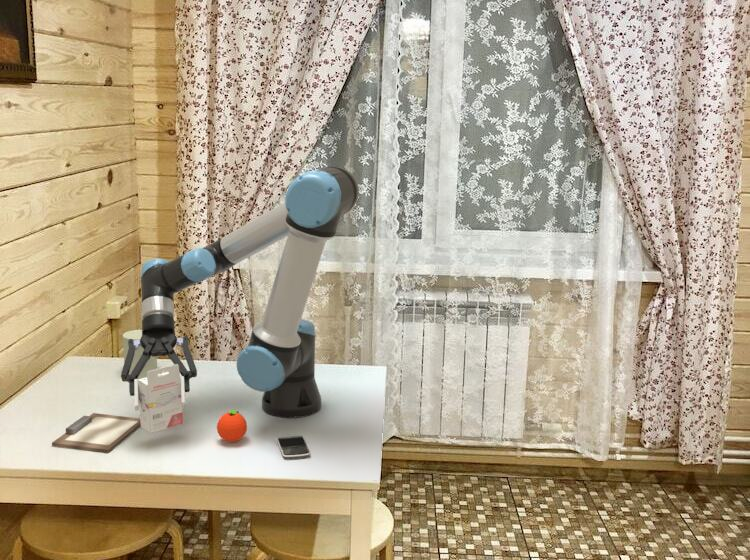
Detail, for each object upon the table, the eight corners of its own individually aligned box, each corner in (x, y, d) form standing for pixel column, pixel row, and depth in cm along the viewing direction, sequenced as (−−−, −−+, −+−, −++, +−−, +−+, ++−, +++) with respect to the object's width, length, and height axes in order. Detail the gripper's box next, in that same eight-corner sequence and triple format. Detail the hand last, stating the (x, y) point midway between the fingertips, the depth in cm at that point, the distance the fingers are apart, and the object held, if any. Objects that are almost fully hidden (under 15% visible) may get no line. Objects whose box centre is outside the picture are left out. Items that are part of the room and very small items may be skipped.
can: (149, 380, 238) (147, 338, 235) (118, 377, 240) (116, 336, 237) (163, 369, 247) (162, 329, 244) (133, 366, 249) (131, 326, 246)
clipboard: (145, 422, 210) (145, 413, 210) (108, 453, 193) (108, 443, 193) (93, 416, 213) (92, 407, 213) (52, 446, 196) (51, 437, 196)
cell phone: (283, 462, 192) (283, 456, 192) (276, 441, 202) (276, 436, 202) (311, 460, 194) (311, 454, 193) (302, 439, 204) (302, 434, 204)
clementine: (224, 431, 206) (224, 403, 205) (252, 434, 205) (252, 406, 203) (212, 445, 199) (212, 416, 197) (241, 448, 197) (241, 419, 196)
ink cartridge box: (172, 417, 204) (170, 358, 200) (183, 424, 200) (181, 363, 197) (139, 427, 198) (136, 366, 195) (149, 433, 195) (146, 372, 191)
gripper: (205, 324, 212) (210, 409, 201) (111, 329, 207) (110, 416, 196) (205, 309, 205) (210, 396, 194) (108, 314, 201) (107, 403, 189)
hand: (160, 406), depth 195 cm, fingers closed on ink cartridge box, 9 cm apart
